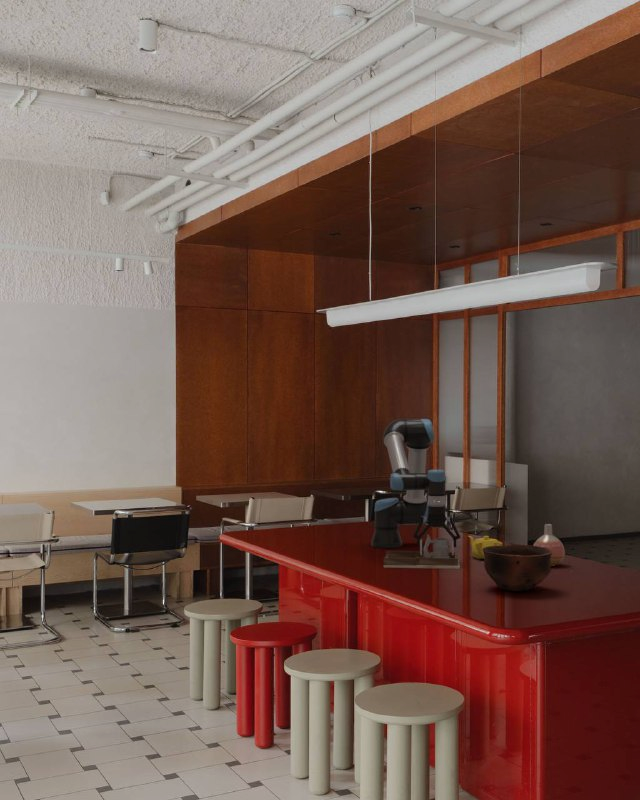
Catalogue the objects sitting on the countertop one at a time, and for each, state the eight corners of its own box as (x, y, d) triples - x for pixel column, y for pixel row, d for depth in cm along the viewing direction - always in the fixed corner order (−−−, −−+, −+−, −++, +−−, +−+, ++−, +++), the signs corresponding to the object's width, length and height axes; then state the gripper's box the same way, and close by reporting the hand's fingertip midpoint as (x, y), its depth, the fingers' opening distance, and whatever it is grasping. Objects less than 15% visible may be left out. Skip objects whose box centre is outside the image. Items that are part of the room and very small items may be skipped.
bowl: (509, 598, 318) (508, 555, 318) (470, 586, 341) (470, 546, 341) (566, 593, 328) (565, 551, 328) (524, 581, 351) (524, 542, 351)
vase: (530, 567, 383) (530, 525, 383) (534, 562, 396) (533, 522, 396) (563, 569, 378) (563, 527, 378) (566, 564, 391) (566, 523, 391)
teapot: (471, 561, 399) (471, 538, 399) (467, 556, 412) (467, 534, 412) (503, 561, 399) (502, 538, 399) (497, 556, 412) (497, 534, 412)
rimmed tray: (386, 559, 404) (386, 550, 404) (458, 560, 400) (458, 551, 400) (383, 567, 384) (383, 557, 384) (459, 568, 380) (459, 559, 380)
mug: (452, 562, 388) (452, 535, 389) (426, 563, 386) (426, 535, 386) (446, 560, 396) (446, 532, 396) (420, 561, 394) (420, 533, 394)
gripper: (407, 506, 389) (407, 555, 389) (466, 506, 386) (466, 556, 386) (408, 504, 397) (408, 552, 396) (465, 504, 393) (465, 553, 393)
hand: (436, 554), depth 391 cm, fingers open, 13 cm apart
